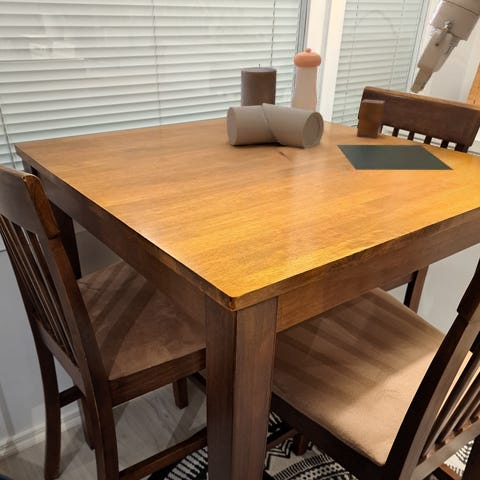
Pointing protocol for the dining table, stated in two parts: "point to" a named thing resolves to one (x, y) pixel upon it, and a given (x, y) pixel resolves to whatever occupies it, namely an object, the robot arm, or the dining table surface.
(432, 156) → the board
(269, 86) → the pillar candle
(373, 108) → the brown upright block
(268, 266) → the dining table surface
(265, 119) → the l-shaped cylinder
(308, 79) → the pepper shaker
